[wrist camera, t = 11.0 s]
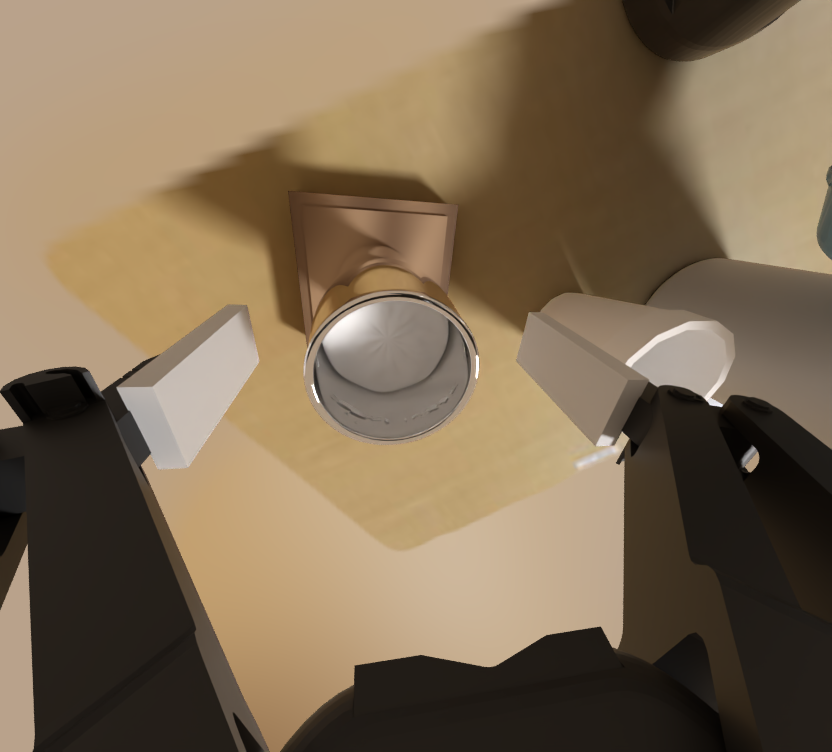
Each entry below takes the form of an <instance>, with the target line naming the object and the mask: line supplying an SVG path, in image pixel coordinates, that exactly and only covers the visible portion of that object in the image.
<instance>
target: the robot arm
mask: <svg viewBox="0 0 832 752" xmlns="http://www.w3.org/2000/svg"><path fill="white" fill-rule="evenodd" d="M799 1H800V0H623V4H624V7H625V10H626V13H627V16H628V18H629V21H630V23H631V25H632V27H633V29H634V31H635V32H636V34H637V35H638V37H639V38H640V40H641V41H642V42H643V43H644V44H645V45H646V46H647V47H648V48H649V49H650V50H651V51H653V52H654V53H655V54H657V55H659V56H661V57H663V58H666V59H669V60H673V61H693V60H698V59H702V58H705V57H708V56H710V55H712V54H715V53H717V52H720V51H722V50H724V49H727V48H729V47H731V46H734V45H736V44H738V43H740V42H742V41H744V40H746V39H748V38H750V37H752V36H753V35H755V34H757V33H758V32H760V31H761V30H763V29H764V28H766V27H767V26H769V25H770V24H771V23H773V22H774V21H775V20H777V19H778V18H779V17H780V16H781V15H782V14H783V13H784V12H786V11H787V10H788V9H789V8H791V7H792V6H794V5H795V4H796V3H798V2H799ZM826 180H827V183H828V185H829V187H828V190H827V194H826V198H825V201H824V205H823V209H822V212H821V216H820V220H819V223H818V227H817V240H818V244H819V246H820V248H821V249H822V251H823V252H824V253H825V254H826V255H827V256H828V257H829V258H830V259H831V260H832V166H830V167H829V169H828V172H827V177H826ZM516 361H517V362H518V364H519V365H520V366H521V367H522V368H523V369H524V370H525V371H526V372H527V373H528V374H529V375H530V376H531V378H532V379H533V380H534V381H535V382H536V383H537V384H538V385H539V386H540V387H541V388H542V389H543V390H544V392H545V393H546V394H547V395H548V396H549V397H550V398H551V399H552V400H553V401H554V402H555V403H556V404H557V406H558V407H559V408H560V409H561V410H562V411H563V412H564V413H565V414H566V415H567V416H568V417H569V418H570V420H571V421H572V422H573V423H574V424H575V425H576V426H577V427H578V428H579V429H580V430H581V431H582V432H583V433H584V435H585V436H586V437H587V438H588V439H589V440H590V441H591V442H592V443H593V444H594V445H595V446H611V445H615V443H616V441H617V440H618V438H619V436H620V434H621V432H623V433H624V434H625V435H626V436H628V437H629V438H630V439H629V440H628V442H627V444H626V446H625V448H624V449H623V451H622V453H621V455H620V456H619V458H618V460H617V462H616V463H617V464H620V463H621V462H622V461H625V475H624V476H625V477H624V478H625V479H624V483H625V484H624V598H623V600H624V601H623V605H624V606H623V607H624V608H623V634H622V639H621V642H620V645H619V647H618V649H615V648H612V647H611V645H610V643H609V641H608V639H607V637H606V635H605V634H604V632H603V630H602V628H601V627H595V628H589V629H583V630H576V631H570V632H564V633H557V634H552V635H546V636H544V637H543V638H541V639H539V640H538V641H536V642H535V643H533V644H531V645H530V646H528V647H526V648H525V649H523V650H521V651H520V652H518V653H517V654H515V655H513V656H512V657H510V658H508V659H507V660H505V661H504V662H502V663H500V664H499V665H497V666H494V667H482V666H476V665H471V664H466V663H461V662H455V661H450V660H444V659H439V658H434V657H429V656H423V655H419V656H413V657H406V658H400V659H394V660H387V661H381V662H375V663H369V664H362V665H356V666H355V673H354V674H355V675H354V685H353V686H351V687H350V688H348V689H346V690H344V691H342V692H340V693H338V694H337V695H336V696H334V697H333V698H332V699H330V700H329V701H328V702H326V703H325V704H324V705H322V706H321V707H320V708H319V709H318V710H317V711H316V712H315V713H314V714H313V715H311V717H309V718H308V719H307V720H306V721H305V722H304V723H303V725H302V726H301V727H300V728H299V729H298V730H297V731H296V732H295V734H294V735H293V736H292V737H291V738H290V740H289V741H288V742H287V743H286V745H285V746H284V747H283V749H282V750H281V751H280V752H832V449H830V448H829V447H828V446H826V445H825V444H824V443H823V442H821V441H820V440H819V439H817V438H816V437H815V436H814V435H812V434H811V433H810V432H809V431H807V430H806V429H805V428H803V427H802V426H801V425H800V424H798V423H797V422H796V421H794V420H793V419H792V418H791V417H789V416H788V415H787V414H785V413H784V412H783V411H781V410H780V409H778V408H776V407H775V406H772V405H771V404H770V403H768V402H767V401H764V400H761V399H758V398H755V397H747V396H742V395H730V397H729V398H728V399H727V401H726V402H725V404H724V405H723V406H722V407H717V406H711V405H709V403H708V402H707V401H706V400H705V398H703V397H702V396H701V395H698V394H697V393H694V392H693V391H691V390H689V389H686V388H683V387H678V386H673V385H661V386H659V387H657V386H655V385H654V384H652V383H651V382H649V379H648V378H646V377H645V376H643V375H641V374H640V373H638V372H637V371H635V370H634V369H632V368H630V367H629V366H627V365H626V364H624V363H622V362H621V361H619V360H618V359H616V358H615V357H613V356H611V355H610V354H608V353H607V352H605V351H604V350H602V349H600V348H599V347H597V346H596V345H594V344H592V343H591V342H589V341H588V340H586V339H585V338H583V337H581V336H580V335H578V334H577V333H575V332H574V331H572V330H570V329H569V328H567V327H566V326H564V325H562V324H561V323H559V322H558V321H556V320H555V319H553V318H551V317H550V316H548V315H547V314H545V313H544V312H529V314H528V318H527V321H526V325H525V329H524V333H523V337H522V340H521V344H520V348H519V352H518V355H517V359H516ZM258 363H259V358H258V353H257V348H256V344H255V339H254V335H253V330H252V325H251V321H250V316H249V312H248V307H247V305H226V306H225V307H224V308H222V309H221V310H220V311H218V312H217V313H216V314H214V315H213V316H212V317H210V318H209V319H208V320H206V321H205V322H204V323H202V324H201V325H200V326H198V327H197V328H196V329H194V330H193V331H191V332H190V333H189V334H187V335H186V336H185V337H183V338H182V339H181V340H179V341H178V342H177V343H175V344H174V345H173V346H171V347H170V348H169V349H167V350H166V351H165V352H163V353H162V354H160V355H157V356H155V357H152V358H150V359H148V360H145V361H143V362H142V363H140V364H139V365H138V366H136V367H135V368H133V369H132V371H129V372H128V373H126V374H125V375H124V376H123V378H120V379H118V380H117V381H115V382H114V383H113V384H111V385H110V386H108V387H107V388H106V389H104V390H103V391H101V392H100V390H99V388H98V387H97V384H96V383H95V381H94V379H93V377H92V375H91V373H90V372H89V371H88V370H87V369H86V368H81V367H60V368H54V369H48V370H44V371H39V372H36V373H32V374H28V375H26V376H23V377H20V378H18V379H15V380H13V381H11V382H10V383H8V384H6V385H5V386H3V388H2V389H1V390H0V393H1V394H2V396H3V397H4V398H5V400H6V401H7V402H8V404H9V405H10V406H11V408H12V409H13V410H14V412H15V413H16V414H17V416H18V417H19V418H20V420H21V421H22V422H23V426H18V427H13V428H7V429H2V430H0V609H1V607H2V604H3V602H4V600H5V597H6V594H7V592H8V590H9V587H10V585H11V582H12V580H13V578H14V575H15V573H16V570H17V568H18V565H19V563H20V560H21V558H22V555H23V553H24V550H25V548H26V546H27V543H28V565H29V588H30V589H29V591H30V618H31V642H32V670H33V696H34V723H35V740H34V741H35V742H34V750H33V752H270V751H269V749H268V747H267V745H266V742H265V740H264V738H263V736H262V734H261V731H260V729H259V727H258V725H257V723H256V721H255V719H254V717H253V715H252V713H251V711H250V710H249V708H248V705H247V704H246V701H245V700H244V697H243V695H242V693H241V691H240V689H239V686H238V684H237V682H236V679H235V677H234V675H233V673H232V670H231V668H230V666H229V663H228V661H227V659H226V657H225V654H224V652H223V650H222V648H221V645H220V643H219V641H218V638H217V636H216V634H215V631H214V629H213V627H212V625H211V622H210V620H209V618H208V616H207V613H206V611H205V609H204V606H203V604H202V602H201V600H200V597H199V595H198V593H197V591H196V588H195V586H194V584H193V581H192V579H191V577H190V574H189V572H188V570H187V568H186V565H185V563H184V561H183V559H182V556H181V554H180V552H179V549H178V547H177V545H176V542H175V540H174V538H173V536H172V533H171V531H170V529H169V527H168V524H167V522H166V520H165V517H164V515H163V513H162V510H161V508H160V506H159V504H158V501H157V499H156V497H155V495H154V492H153V490H152V488H151V485H150V483H149V481H148V479H147V476H146V474H145V472H144V470H143V469H142V467H141V464H142V463H143V462H144V461H145V460H146V458H147V457H148V456H149V455H150V454H151V456H152V458H153V460H154V462H155V464H156V466H157V468H158V469H177V468H188V467H189V466H190V464H191V463H192V461H193V460H194V458H195V457H196V455H197V454H198V452H199V451H200V449H201V448H202V446H203V445H204V443H205V442H206V440H207V439H208V437H209V436H210V434H211V433H212V431H213V430H214V428H215V427H216V425H217V424H218V423H219V421H220V420H221V418H222V417H223V415H224V414H225V412H226V411H227V409H228V408H229V406H230V405H231V403H232V402H233V400H234V399H235V397H236V396H237V394H238V393H239V391H240V390H241V388H242V387H243V385H244V384H245V382H246V381H247V379H248V378H249V376H250V375H251V373H252V372H253V370H254V369H255V367H256V366H257V364H258ZM757 452H758V453H759V463H758V465H757V466H756V468H755V469H754V470H753V471H752V472H751V473H750V472H748V471H747V469H746V468H745V466H746V464H747V463H748V462H749V461H750V460H751V459H752V457H753V456H754V455H755V454H756V453H757Z"/></svg>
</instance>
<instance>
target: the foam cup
mask: <svg viewBox="0 0 832 752" xmlns="http://www.w3.org/2000/svg"><path fill="white" fill-rule="evenodd" d="M540 312H544V313H545V314H547V315H548V316H550V317H551V318H553V319H555V320H556V321H558V322H559V323H561V324H562V325H564V326H566V327H567V328H569V329H570V330H572V331H574V332H575V333H577V334H578V335H580V336H581V337H583V338H585V339H586V340H588V341H589V342H591V343H592V344H594V345H596V346H597V347H599V348H600V349H602V350H604V351H605V352H607V353H608V354H610V355H611V356H613V357H615V358H616V359H618V360H619V361H621V362H622V363H624V364H626V365H627V366H629V367H630V368H632V369H634V370H635V371H637V372H638V373H640V374H641V375H643V376H645V377H646V378H648V379H649V382H651V383H652V384H654V385H655V386H657V387H659V386H661V385H673V386H678V387H683V388H686V389H689V390H691V391H693V392H694V393H697V394H698V395H701V396H702V397H703V398H705V400H706V401H708V400H709V399H710V397H711V396H712V395H713V394H714V393H715V392H716V390H717V389H718V388H719V387H720V386H721V385H722V383H723V382H724V381H725V379H726V376H727V374H728V372H729V370H730V367H731V365H732V363H733V360H734V358H735V345H734V334H733V333H732V332H730V331H729V330H728V329H727V328H725V327H724V326H723V325H722V324H720V323H719V322H718V321H716V320H713V319H710V318H707V317H704V316H701V315H698V314H695V313H692V312H689V311H686V310H666V309H661V308H655V307H650V306H645V305H640V304H634V303H629V302H624V301H619V300H613V299H608V298H603V297H597V296H592V295H587V294H579V293H563V294H561V295H559V296H557V297H555V298H552V299H551V300H550V301H549V302H548V303H547V304H546V305H545V306H544V307H543V308H542V309H541V311H540Z"/></svg>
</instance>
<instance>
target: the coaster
mask: <svg viewBox="0 0 832 752" xmlns="http://www.w3.org/2000/svg"><path fill="white" fill-rule="evenodd" d="M288 194H289V202H290V210H291V219H292V227H293V235H294V243H295V251H296V260H297V268H298V276H299V284H300V292H301V301H302V309H303V317H304V325H305V333H306V342H307V348H308V342H309V336H310V331H311V326H312V322H313V318H314V315H315V312H316V309H317V306H318V304H319V302H320V300H321V298H322V296H323V294H324V293H325V291H326V289H327V288H328V286H329V285H330V284H331V282H332V281H333V280H334V279H335V278H336V277H337V276H338V274H339V270H340V268H341V265H342V263H343V262H344V260H345V259H346V258H347V257H348V255H350V254H351V253H352V252H353V251H355V250H356V249H358V248H361V247H363V246H367V245H383V246H387V247H389V248H392V249H394V250H395V251H397V252H398V253H399V254H401V255H402V256H403V257H404V258H405V260H406V261H407V262H408V263H409V264H411V265H413V266H415V267H417V268H419V269H420V270H422V271H423V272H424V273H426V274H427V275H428V276H429V277H430V278H432V279H433V280H434V281H435V282H436V283H437V284H438V285H439V286H440V287H441V288H442V290H443V291H444V292H445V293H446V295H447V296H448V288H449V279H450V271H451V263H452V254H453V246H454V237H455V229H456V221H457V212H458V205H454V204H442V203H429V202H417V201H405V200H393V199H380V198H368V197H356V196H344V195H332V194H319V193H307V192H295V191H288Z"/></svg>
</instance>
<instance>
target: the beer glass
mask: <svg viewBox="0 0 832 752" xmlns="http://www.w3.org/2000/svg"><path fill="white" fill-rule="evenodd" d="M303 373H304V383H305V388H306V392H307V395H308V397H309V400H310V402H311V404H312V405H313V407H314V409H315V410H316V412H317V413H318V414H319V415H320V417H321V418H322V419H323V420H324V421H325V422H326V423H327V424H329V425H330V426H331V427H332V428H334V429H335V430H337V431H338V432H340V433H341V434H343V435H345V436H347V437H350V438H352V439H355V440H358V441H361V442H365V443H370V444H377V445H397V444H404V443H409V442H413V441H417V440H420V439H423V438H425V437H428V436H430V435H432V434H434V433H436V432H437V431H439V430H441V429H442V428H444V427H445V426H446V425H448V424H449V423H450V422H451V421H453V420H454V419H455V418H456V417H457V416H458V415H459V414H460V412H461V411H462V410H463V409H464V407H465V406H466V405H467V403H468V401H469V400H470V398H471V396H472V394H473V392H474V389H475V387H476V384H477V380H478V375H479V353H478V348H477V344H476V341H475V339H474V336H473V334H472V332H471V330H470V329H469V327H468V326H467V324H466V323H465V322H464V320H463V319H462V318H461V316H460V314H459V313H458V311H457V309H456V308H455V306H454V305H453V303H452V301H451V300H450V298H449V297H448V296H447V295H446V293H445V292H444V291H443V290H442V288H441V287H440V286H439V285H438V284H437V283H436V282H435V281H434V280H433V279H432V278H430V277H429V276H428V275H427V274H426V273H424V272H423V271H422V270H420V269H419V268H417V267H415V266H413V265H411V264H409V263H408V262H407V261H406V260H405V258H404V257H403V256H402V255H401V254H399V253H398V252H397V251H395V250H394V249H392V248H389V247H387V246H383V245H367V246H363V247H361V248H358V249H356V250H355V251H353V252H352V253H351V254H350V255H348V257H347V258H346V259H345V260H344V262H343V263H342V265H341V268H340V270H339V274H338V276H337V277H336V278H335V279H334V280H333V281H332V282H331V284H330V285H329V286H328V288H327V289H326V291H325V293H324V294H323V296H322V298H321V300H320V302H319V304H318V306H317V309H316V312H315V315H314V318H313V322H312V326H311V331H310V336H309V342H308V348H307V351H306V355H305V360H304V371H303Z"/></svg>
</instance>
